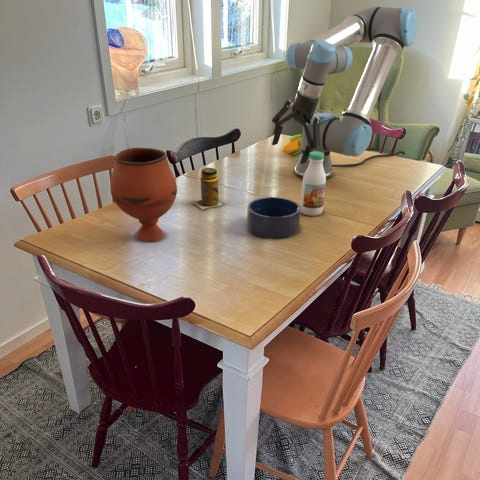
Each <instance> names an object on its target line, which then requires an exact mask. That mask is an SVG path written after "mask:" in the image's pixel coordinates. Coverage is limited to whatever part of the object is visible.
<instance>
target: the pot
mask: <svg viewBox="0 0 480 480" xmlns="http://www.w3.org/2000/svg"><path fill="white" fill-rule="evenodd" d="M300 205H301V204H299V203H298V202H297V201H294V200H292V199H289V198H285V197H277V196H276V197H275V196H269V197H259V198H256V199H253V200H252V201H250V202H249V203H248V204H247V211H246V212H247V214H246V215H247V217H246V218H247V220H246V221H247V222H246V226H247V227H246V228H247V231H249V233H250V234H252V235H254V236H256V237H259V238H263V239H268V240H269V239H272V240H276V239H277V240H278V239H279V240H280V239H287V238H291V237H293V236H295V235H296V234H297V233H298V232H299V231H300V224H301V223H300V222H301V207H300Z"/></svg>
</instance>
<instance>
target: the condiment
mask: <svg viewBox="0 0 480 480" xmlns="http://www.w3.org/2000/svg"><path fill="white" fill-rule="evenodd" d="M200 196H201V197H200V199H199V200H196V201H192V204H194V205H195V206H197V208H200V209H201V210H204V209H209V208H214V207H218V206H222V205H224V204H223V203H222V202H220V201H219V177H218V171H217V169H216V168H214V167H205V168H202V169H201V177H200Z"/></svg>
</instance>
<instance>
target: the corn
mask: <svg viewBox="0 0 480 480" xmlns="http://www.w3.org/2000/svg"><path fill="white" fill-rule="evenodd" d="M301 147H302V133H301V134H299V133H297V134H295V135H294V134H293V135H292V136H291V137H289V138H288V141H287V142H286V143H285V144H284V146H283V147H282V152H283V153H284V154H291V156H296V155H298V154H301Z"/></svg>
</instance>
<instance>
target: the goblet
mask: <svg viewBox="0 0 480 480" xmlns="http://www.w3.org/2000/svg"><path fill="white" fill-rule="evenodd" d="M167 156H168V155H167V152H165V151H164V150H161V149H157V148H152V147H151V148H149V147H132V148H131V147H130V148H127V149H124V150H121V151H119V152H118V153H116V154H115V156H114V160H115V161H114V165H113V170H112V173H111V177H110V188H109V189H110V194H111V197H112V200H113V201H114V203H115V204H116V206H117V207H118V208H119V210H120V211H122V212H123V213H125V214H126V215H127V216H130V217H131V218H134V219H136V220H138V222H139V223H140V224H141V226H140V227H139V228H138V230H137V232H136V233H135V237H136V239H137V240H139V241H140V242H147V243H151V242H158V241H160V240H161V239H163V238H164V237H165V232H164V231H163V229H162V228H161V227H160V226H159V225H158V223H159V219H160V218H162V217H163V216H164V215H165V214H166V213H168V212H169V210H170V209H171V208H172V207H173V205H174V203H175V201H176V198H177V194H178V185H177V181H176V178H175V176H174V173H173V172H172V169H171V167H170V164H169V160H168V158H167Z"/></svg>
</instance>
